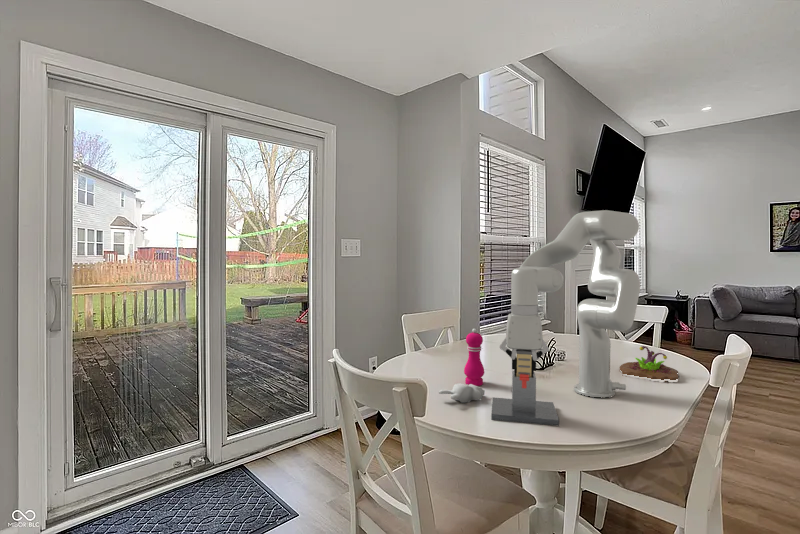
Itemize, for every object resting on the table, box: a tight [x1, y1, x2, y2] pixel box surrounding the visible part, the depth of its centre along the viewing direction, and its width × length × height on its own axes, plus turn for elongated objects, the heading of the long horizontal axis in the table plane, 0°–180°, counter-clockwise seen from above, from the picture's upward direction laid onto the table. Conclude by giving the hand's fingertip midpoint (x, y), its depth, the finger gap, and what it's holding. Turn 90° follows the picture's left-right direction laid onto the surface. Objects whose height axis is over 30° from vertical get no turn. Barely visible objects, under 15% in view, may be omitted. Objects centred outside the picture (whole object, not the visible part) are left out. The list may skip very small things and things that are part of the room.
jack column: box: [516, 349, 532, 377], centre depth 123 cm, size 4×4×17 cm
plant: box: [619, 345, 680, 380], centre depth 163 cm, size 20×20×11 cm
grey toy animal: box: [438, 383, 486, 404], centre depth 135 cm, size 10×5×15 cm
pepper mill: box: [463, 328, 485, 387], centre depth 151 cm, size 7×7×20 cm
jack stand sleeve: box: [490, 370, 560, 427], centre depth 124 cm, size 18×14×12 cm
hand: (523, 371), depth 123 cm, fingers closed on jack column, 4 cm apart
